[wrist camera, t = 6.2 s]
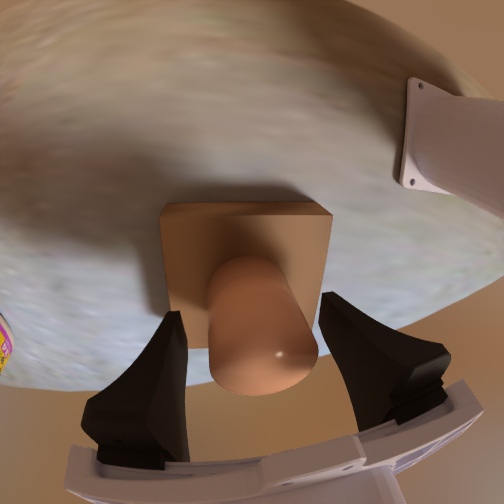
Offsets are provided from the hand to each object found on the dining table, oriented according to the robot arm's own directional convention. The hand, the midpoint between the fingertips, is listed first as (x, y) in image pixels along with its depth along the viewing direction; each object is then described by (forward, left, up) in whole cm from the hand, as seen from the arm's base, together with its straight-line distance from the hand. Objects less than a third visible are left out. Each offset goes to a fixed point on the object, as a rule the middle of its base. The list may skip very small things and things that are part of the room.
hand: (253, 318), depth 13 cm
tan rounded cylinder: (0, 0, -2) cm, 2 cm away
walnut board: (0, 0, -5) cm, 5 cm away
